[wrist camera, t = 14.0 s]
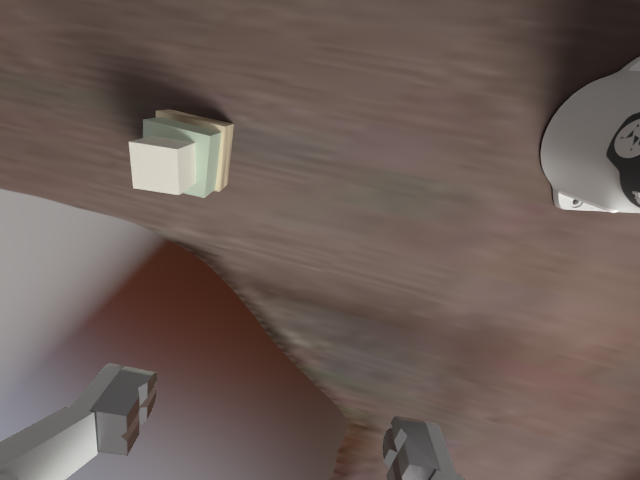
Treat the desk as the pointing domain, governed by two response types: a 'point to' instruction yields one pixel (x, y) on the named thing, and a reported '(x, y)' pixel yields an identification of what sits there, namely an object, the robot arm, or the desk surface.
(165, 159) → the cream block
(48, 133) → the desk surface
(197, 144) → the green tower middle block
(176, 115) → the tower base
